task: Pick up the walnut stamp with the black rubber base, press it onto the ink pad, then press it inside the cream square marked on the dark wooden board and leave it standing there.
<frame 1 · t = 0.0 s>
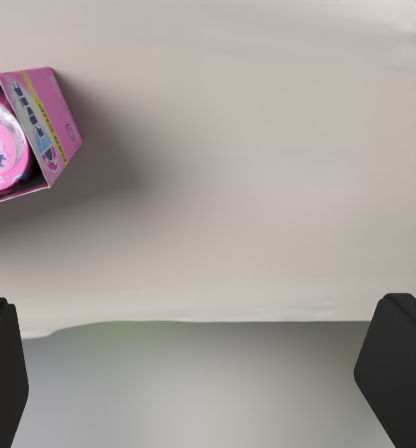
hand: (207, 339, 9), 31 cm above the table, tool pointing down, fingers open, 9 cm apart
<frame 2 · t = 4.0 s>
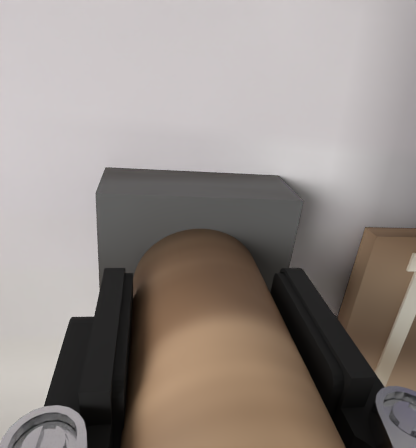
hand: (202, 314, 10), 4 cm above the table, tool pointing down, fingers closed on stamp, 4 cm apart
stamp: (189, 247, 14), on the table, touching gripper
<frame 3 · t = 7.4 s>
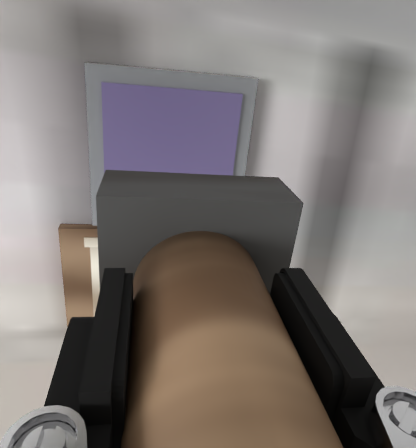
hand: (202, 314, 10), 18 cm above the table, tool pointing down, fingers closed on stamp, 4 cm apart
stamp: (189, 249, 14), point 14 cm above the table, touching gripper
marked board: (163, 292, 32), on the table
ink pad: (169, 151, 26), on the table
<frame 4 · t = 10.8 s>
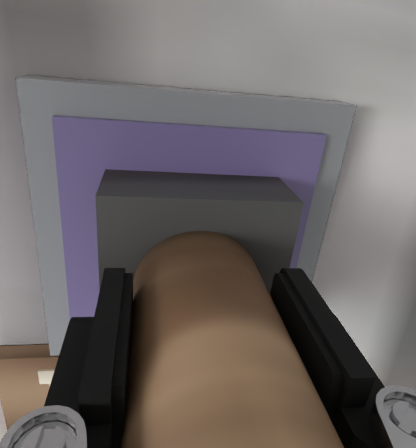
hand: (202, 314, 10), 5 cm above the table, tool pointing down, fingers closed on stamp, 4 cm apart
stamp: (189, 249, 14), point 2 cm above the table, touching gripper, ink pad
marked board: (170, 428, 20), on the table
ink pad: (185, 229, 15), on the table
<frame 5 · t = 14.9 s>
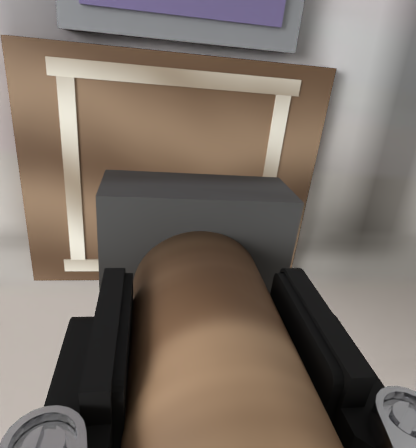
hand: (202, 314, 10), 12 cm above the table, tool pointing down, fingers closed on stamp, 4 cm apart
stamp: (189, 249, 14), point 8 cm above the table, touching gripper
marked board: (173, 177, 21), on the table
when the fingers open (4 cm above the table, at t = 17.9 s): stamp stays where it is, resting on marked board.
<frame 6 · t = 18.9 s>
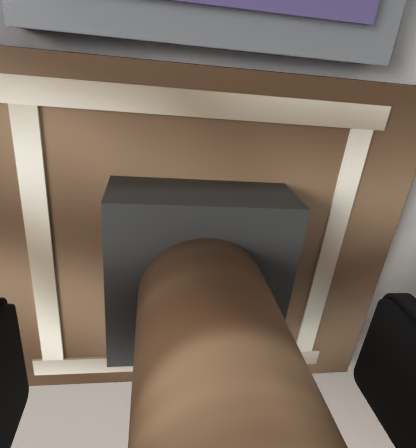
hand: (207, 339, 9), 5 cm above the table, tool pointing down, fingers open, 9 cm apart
stamp: (194, 255, 14), point 1 cm above the table, touching marked board
marked board: (191, 243, 14), on the table
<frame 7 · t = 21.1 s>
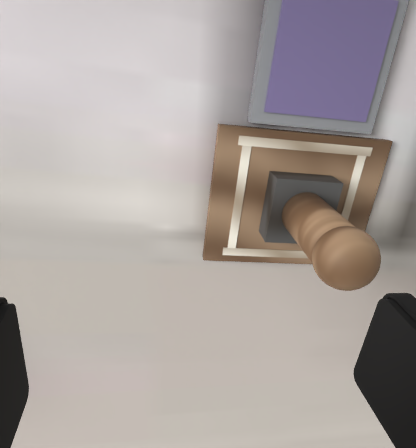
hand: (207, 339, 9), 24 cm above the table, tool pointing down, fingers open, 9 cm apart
stamp: (294, 203, 34), point 1 cm above the table, touching marked board
marked board: (291, 200, 35), on the table
ink pad: (321, 58, 30), on the table
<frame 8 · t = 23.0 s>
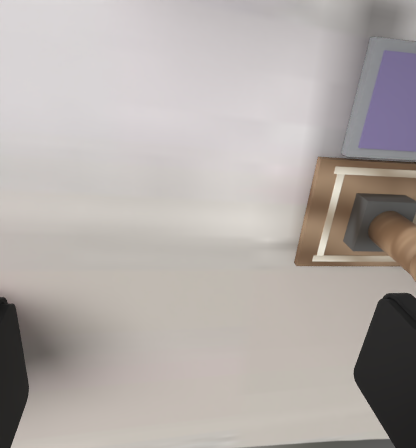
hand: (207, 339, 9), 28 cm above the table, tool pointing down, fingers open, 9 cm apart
stamp: (373, 218, 41), point 1 cm above the table, touching marked board
marked board: (369, 215, 42), on the table
ink pad: (404, 103, 37), on the table
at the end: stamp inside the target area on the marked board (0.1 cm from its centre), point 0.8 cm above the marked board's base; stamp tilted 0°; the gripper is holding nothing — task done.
